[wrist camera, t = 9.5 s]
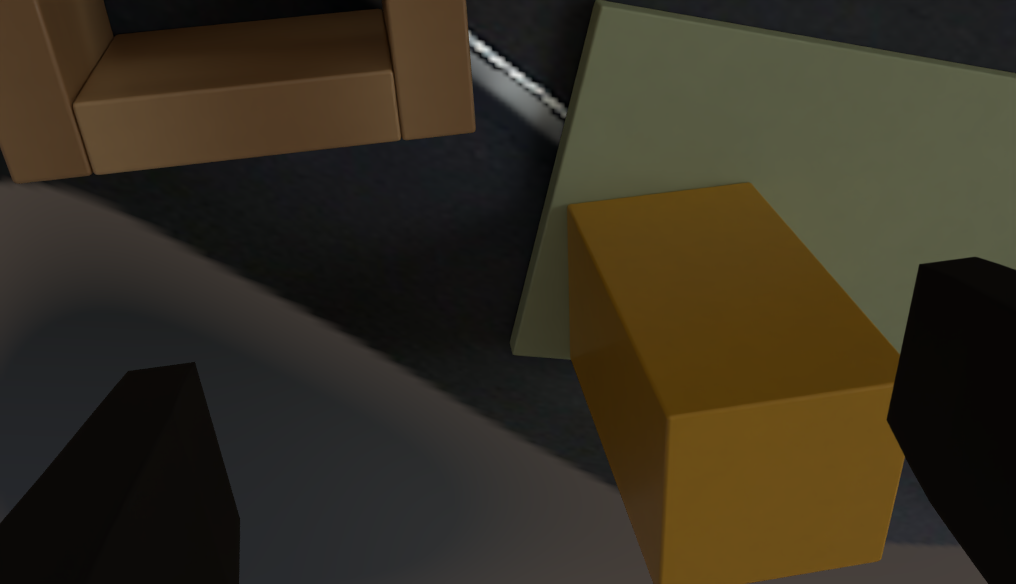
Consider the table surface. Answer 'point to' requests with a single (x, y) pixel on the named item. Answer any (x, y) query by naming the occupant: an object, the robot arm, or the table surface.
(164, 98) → the stand
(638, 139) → the mat
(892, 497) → the block
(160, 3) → the table surface
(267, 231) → the table surface
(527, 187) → the table surface
